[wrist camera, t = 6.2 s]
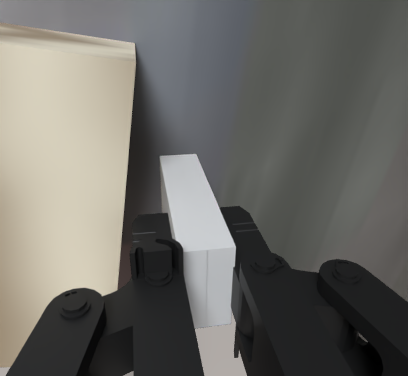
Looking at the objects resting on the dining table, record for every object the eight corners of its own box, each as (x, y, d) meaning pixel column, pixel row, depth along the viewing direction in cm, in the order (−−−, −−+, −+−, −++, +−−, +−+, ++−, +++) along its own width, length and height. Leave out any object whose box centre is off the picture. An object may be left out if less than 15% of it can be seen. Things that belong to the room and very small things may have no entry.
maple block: (134, 42, 15) (136, 62, 10) (115, 282, 20) (111, 363, 15) (-134, 0, 13) (-273, 4, 8) (-79, 279, 18) (-148, 372, 13)
